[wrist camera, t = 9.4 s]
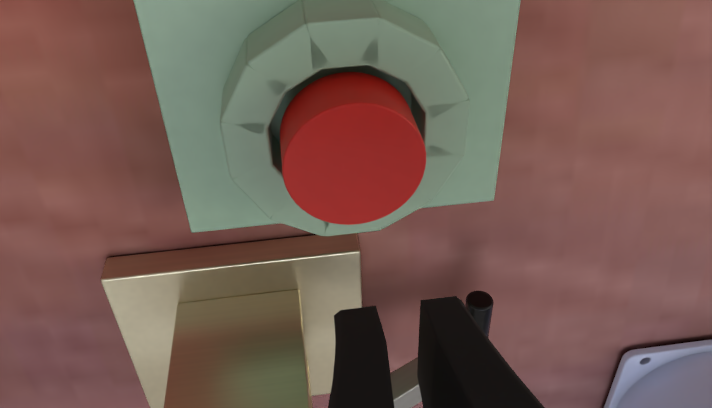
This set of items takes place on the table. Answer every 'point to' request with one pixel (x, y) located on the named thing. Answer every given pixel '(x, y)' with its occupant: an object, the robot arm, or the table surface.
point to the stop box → (307, 64)
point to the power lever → (406, 376)
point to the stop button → (350, 149)
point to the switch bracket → (235, 319)
